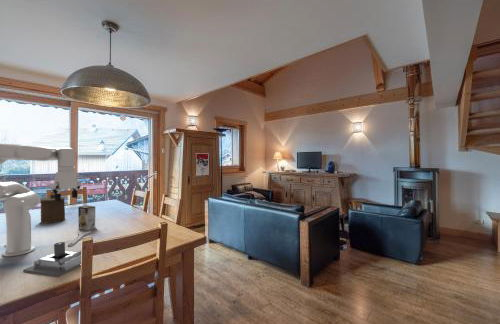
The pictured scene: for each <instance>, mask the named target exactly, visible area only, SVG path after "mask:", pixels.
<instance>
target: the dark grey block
mask: <svg viewBox="0 0 500 324" xmlns="http://www.w3.org/2000/svg"><path fill="white" fill-rule="evenodd" d="M65 251H66V242H65V241H60V242H56V243H54V244H53V252H54V257H55V259H61V258H63V257H65Z"/></svg>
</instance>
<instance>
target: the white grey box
mask: <svg viewBox="0 0 500 324" xmlns="http://www.w3.org/2000/svg"><path fill="white" fill-rule="evenodd" d="M81 251H82V250H79V251H77V252H76V251H69V250H65V257H63V258H61V259H55V257H54V253H51V254H48V255H46V256H44V257H41V258H39V259H38V260H39V263H40V264H47V265H55V266H61V271H67V270H69V269H71V268H73V267H75V266H77V265H79V264H81Z"/></svg>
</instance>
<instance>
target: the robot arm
mask: <svg viewBox="0 0 500 324" xmlns="http://www.w3.org/2000/svg"><path fill="white" fill-rule="evenodd" d="M8 160H9V161H10V160H11V161H22V160H23V161H37V162H38V161H39V162H41V161H42V162H43V161H44V162H45V161H46V162H47V161H57V171H56V172H55V175H54V183H53V184H52V185H50V186H49V189H50V191H51V192H52V194H55V201H61V197H62V194H61V192H62V191H64V190H72V191H71V198H73V199H77V198H78V191H79V189H80V188H81V186H82V182H80V181H78V179H77V173H76V171H75V170H76V169H77V167H76V165H75V163H76V162H75V160H76V159H75V149H74V148H72V147H53V146H35V145H34V146H33V145H22V144H17V143H15V144H14V143H13V144H12V143H0V166H1V165H2V164H3V163H5V162H6V161H8ZM4 200H5V201H4ZM0 201H1V202H2V201H4V203H3V207H2V208H3V211H4V214H5V223H6V224H5V226H6V228H5V229H6V244H5V245H4V246H3V248H5V249H6V250H4V251H3V252H2V256H3V257H18V256H21V255H25V254H28V253H31V252H32V251H34V250H36V245H32V217H31V214H30V211H29V210H30V209H33V208H36V207H37V206H38V205H39V204H41V197H40V196H39V194H37V193H36V192H35V191H33V190H32V189H30V188H28V187H27V186H25V185H23V184H21V183H19V182H17V181H6V182H5V181H3V182H1V181H0Z"/></svg>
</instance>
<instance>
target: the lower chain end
mask: <svg viewBox="0 0 500 324" xmlns="http://www.w3.org/2000/svg"><path fill="white" fill-rule="evenodd" d="M33 265H34V267H38V268H45V269H53V270H61V266H55V265H47V264H40V263H39V259H37V260H35V261H34V262H33Z"/></svg>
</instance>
